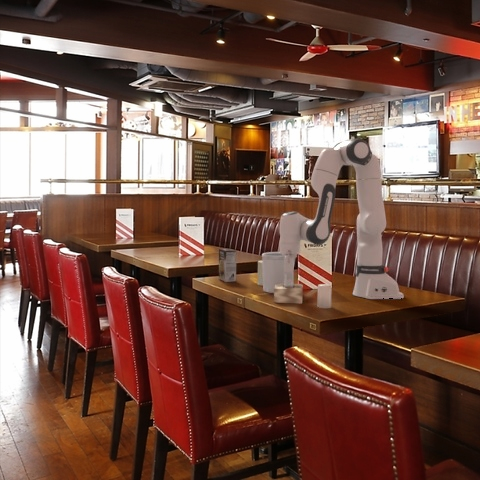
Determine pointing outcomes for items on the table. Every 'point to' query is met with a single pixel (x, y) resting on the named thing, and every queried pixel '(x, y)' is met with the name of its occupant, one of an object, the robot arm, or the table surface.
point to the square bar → (288, 283)
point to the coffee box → (227, 265)
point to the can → (260, 273)
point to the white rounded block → (324, 296)
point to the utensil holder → (272, 270)
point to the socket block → (288, 293)
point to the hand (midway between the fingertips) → (289, 281)
